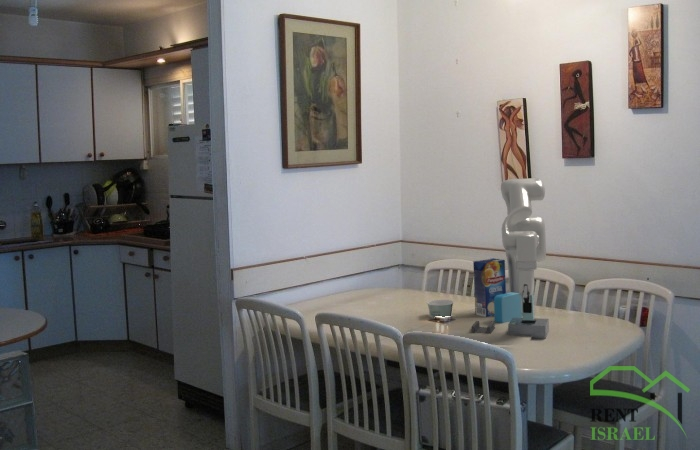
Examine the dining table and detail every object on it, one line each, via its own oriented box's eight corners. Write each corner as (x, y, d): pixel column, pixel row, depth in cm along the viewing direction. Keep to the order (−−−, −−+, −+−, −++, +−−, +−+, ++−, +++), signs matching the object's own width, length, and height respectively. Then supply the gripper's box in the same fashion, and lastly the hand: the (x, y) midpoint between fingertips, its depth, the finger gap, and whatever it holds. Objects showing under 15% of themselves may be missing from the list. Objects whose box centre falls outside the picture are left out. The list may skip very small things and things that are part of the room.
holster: (475, 329, 300) (475, 320, 299) (495, 329, 297) (495, 321, 296) (471, 335, 290) (470, 326, 290) (491, 335, 288) (490, 327, 287)
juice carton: (486, 317, 320) (484, 263, 318) (475, 314, 326) (473, 261, 324) (506, 312, 326) (504, 259, 324) (495, 310, 333) (493, 258, 330)
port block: (513, 329, 295) (512, 316, 295) (548, 331, 290) (548, 317, 290) (508, 337, 284) (508, 323, 284) (545, 338, 279) (545, 324, 278)
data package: (513, 319, 314) (512, 291, 313) (521, 320, 310) (521, 292, 309) (494, 324, 307) (493, 295, 306) (502, 325, 303) (501, 297, 302)
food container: (423, 318, 324) (422, 304, 323) (433, 312, 335) (432, 298, 334) (448, 320, 318) (448, 305, 318) (458, 314, 329) (457, 300, 328)
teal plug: (524, 317, 289) (523, 291, 288) (534, 318, 288) (533, 291, 287) (522, 320, 285) (521, 293, 284) (533, 320, 284) (532, 293, 283)
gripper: (520, 262, 294) (521, 306, 295) (513, 268, 278) (515, 315, 280) (539, 262, 291) (540, 307, 293) (533, 268, 275) (535, 316, 277)
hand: (528, 310), depth 286 cm, fingers closed on teal plug, 4 cm apart
